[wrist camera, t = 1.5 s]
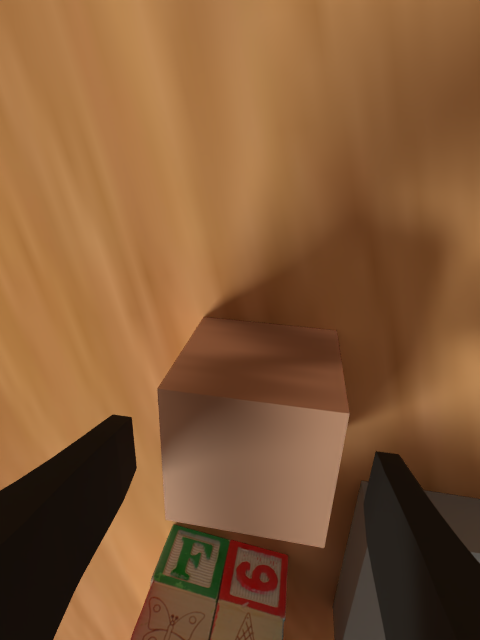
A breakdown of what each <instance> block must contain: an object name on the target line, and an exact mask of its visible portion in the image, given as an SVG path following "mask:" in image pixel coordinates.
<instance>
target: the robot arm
mask: <svg viewBox="0 0 480 640" xmlns="http://www.w3.org/2000/svg"><path fill="white" fill-rule="evenodd" d="M136 468H137V466H136V456H135V446H134V436H133V426H132V417H126V416H119V415H112V416H110V417H109V418H107V419H106V420H104V421H103V422H102V423H100V424H99V425H97V426H96V427H95V428H93V429H92V430H91V431H89V432H88V433H86V434H85V435H84V436H82V437H81V438H80V439H78V440H77V441H75V442H74V443H72V444H71V445H70V446H68V447H67V448H65V449H64V450H63V451H61V452H60V453H58V454H57V455H55V456H54V457H53V458H51V459H50V460H48V461H47V462H45V463H43V464H42V465H40V466H39V467H37V468H36V469H34V470H33V471H31V472H30V473H28V474H27V475H25V476H23V477H22V478H20V479H19V480H17V481H16V482H14V483H12V484H11V485H9V486H7V487H6V488H4V489H2V490H1V491H0V640H53V639H54V636H55V634H56V632H57V629H58V627H59V625H60V623H61V620H62V618H63V616H64V614H65V611H66V609H67V607H68V605H69V602H70V600H71V598H72V596H73V593H74V591H75V589H76V587H77V585H78V583H79V581H80V579H81V577H82V575H83V574H84V572H85V570H86V568H87V566H88V565H89V563H90V561H91V559H92V557H93V555H94V554H95V552H96V550H97V548H98V546H99V545H100V543H101V541H102V539H103V537H104V536H105V534H106V532H107V530H108V528H109V527H110V525H111V523H112V521H113V519H114V517H115V515H116V514H117V512H118V510H119V508H120V506H121V504H122V502H123V501H124V498H125V496H126V493H127V491H128V489H129V486H130V484H131V481H132V479H133V476H134V474H135V471H136ZM363 505H364V518H365V530H366V541H367V547H368V552H369V557H370V562H371V568H372V573H373V578H374V583H375V588H376V593H377V598H378V603H379V608H380V613H381V618H382V623H383V628H384V633H385V639H386V640H480V563H479V562H478V561H477V559H476V558H475V557H474V556H473V555H472V553H471V552H470V551H469V550H468V549H467V547H466V546H465V545H464V544H463V542H462V541H461V540H460V539H459V537H458V536H457V535H456V533H455V532H454V531H453V530H452V528H451V527H450V526H449V524H448V523H447V522H446V520H445V519H444V518H443V516H442V515H441V514H440V512H439V511H438V510H437V508H436V507H435V506H434V504H433V503H432V501H431V500H430V499H429V497H428V496H427V494H426V493H425V492H424V490H423V489H422V487H421V486H420V484H419V483H418V482H417V480H416V479H415V477H414V476H413V474H412V473H411V471H410V470H409V468H408V467H407V465H406V464H405V462H404V461H403V459H402V458H401V457H400V456H399V454H392V453H384V452H377V451H376V453H375V457H374V461H373V466H372V470H371V474H370V478H369V482H368V487H367V491H366V495H365V499H364V503H363Z"/></svg>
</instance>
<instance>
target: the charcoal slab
mask: <svg viewBox="0 0 480 640" xmlns="http://www.w3.org/2000/svg"><path fill="white" fill-rule="evenodd" d="M367 487H368V482H367V481H361V485H360V489H359V494H358V498H357V502H356V507H355V511H354V516H353V520H352V524H351V529H350V533H349V537H348V542H347V546H346V550H345V555H344V559H343V564H342V568H341V572H340V577H339V581H338V585H337V590H336V594H335V599H334V603H333V621H334V639H335V640H386V639H385V633H384V628H383V623H382V618H381V613H380V608H379V603H378V598H377V593H376V588H375V583H374V578H373V573H372V568H371V562H370V557H369V552H368V547H367V541H366V530H365V518H364V505H363V503H364V499H365V495H366V491H367ZM424 492H425V493H426V494H427V496H428V497H429V499H430V500H431V501H432V503H433V504H434V506H435V507H436V508H437V510H438V511H439V512H440V514H441V515H442V516H443V518H444V519H445V520H446V522H447V523H448V524H449V526H450V527H451V528H452V530H453V531H454V532H455V533H456V535H457V536H458V537H459V539H460V540H461V541H462V542H463V544H464V545H465V546H466V547H467V549H468V550H469V551H470V552H471V553H472V555H473V556H474V557H475V558H476V559H477V561H478V562H479V563H480V499H477V498H471V497H464V496H458V495H451V494H445V493H438V492H432V491H425V490H424Z"/></svg>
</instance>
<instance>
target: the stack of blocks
mask: <svg viewBox="0 0 480 640" xmlns="http://www.w3.org/2000/svg"><path fill="white" fill-rule="evenodd" d="M287 575H288V555H285V554H282V553H278V552H274V551H271V550H267V549H263V548H260V547H256V546H252V545H249V544H245V543H241V542H238V541H234V540H228V539H224V538H221V537H217V536H213V535H210V534H206V533H203V532H199V531H196V530H192V529H188V528H185V527H181V526H178V525H173V526H172V528H171V531H170V533H169V536H168V538H167V541H166V543H165V546H164V548H163V551H162V553H161V556H160V558H159V561H158V563H157V566H156V568H155V571H154V573H153V576H152V579H151V584H150V590H149V592H148V595H147V598H146V600H145V603H144V606H143V608H142V611H141V613H140V616H139V618H138V621H137V623H136V626H135V629H134V631H133V634H132V637H131V640H283V626H284V621H285V615H286V596H287Z"/></svg>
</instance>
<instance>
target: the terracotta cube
mask: <svg viewBox="0 0 480 640" xmlns="http://www.w3.org/2000/svg"><path fill="white" fill-rule="evenodd" d="M158 405H159V422H160V438H161V454H162V470H163V486H164V502H165V518H166V520H169V521H175V522H181V523H186V524H192V525H197V526H203V527H209V528H214V529H220V530H225V531H231V532H237V533H242V534H248V535H253V536H259V537H265V538H270V539H276V540H281V541H287V542H293V543H298V544H304V545H309V546H315V547H321V548H324V547H325V542H326V536H327V531H328V526H329V520H330V515H331V510H332V504H333V499H334V494H335V488H336V483H337V478H338V473H339V467H340V462H341V457H342V451H343V446H344V441H345V435H346V430H347V425H348V419H349V414H350V413H349V407H348V400H347V394H346V387H345V380H344V374H343V367H342V361H341V354H340V348H339V341H338V334H337V330H328V329H318V328H308V327H298V326H288V325H278V324H268V323H259V322H249V321H239V320H229V319H219V318H209V317H203V319H202V320H201V322H200V324H199V325H198V327H197V328H196V330H195V331H194V333H193V334H192V336H191V337H190V339H189V341H188V342H187V344H186V345H185V347H184V348H183V350H182V351H181V353H180V355H179V356H178V358H177V359H176V361H175V362H174V364H173V365H172V367H171V369H170V370H169V372H168V373H167V375H166V376H165V378H164V379H163V381H162V382H161V384H160V386H159V387H158Z"/></svg>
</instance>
